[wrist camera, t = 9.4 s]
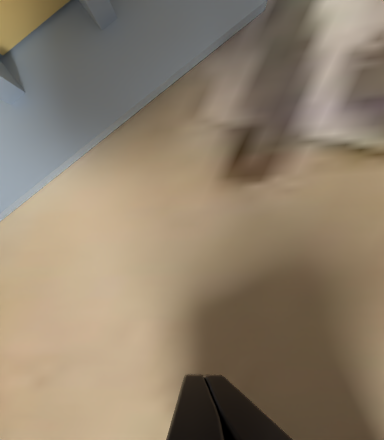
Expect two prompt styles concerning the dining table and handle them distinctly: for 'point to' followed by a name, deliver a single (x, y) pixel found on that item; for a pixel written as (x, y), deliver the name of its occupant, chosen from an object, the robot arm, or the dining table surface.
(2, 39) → the key middle
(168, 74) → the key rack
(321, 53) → the dining table surface
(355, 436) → the dining table surface
